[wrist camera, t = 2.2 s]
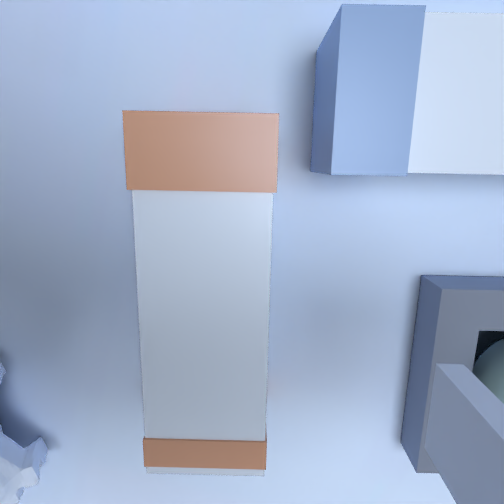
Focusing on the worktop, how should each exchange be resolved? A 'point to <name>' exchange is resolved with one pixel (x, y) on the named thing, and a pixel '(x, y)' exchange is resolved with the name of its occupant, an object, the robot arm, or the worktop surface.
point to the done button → (492, 369)
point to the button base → (445, 345)
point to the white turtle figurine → (18, 464)
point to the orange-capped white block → (203, 284)
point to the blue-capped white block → (409, 93)
